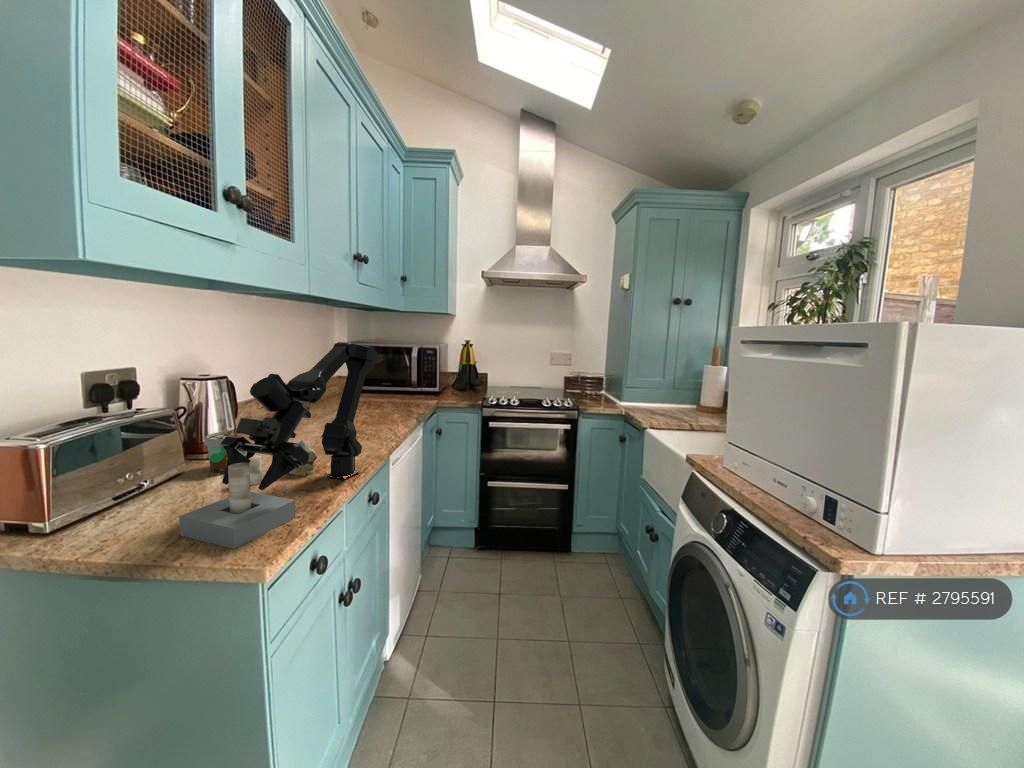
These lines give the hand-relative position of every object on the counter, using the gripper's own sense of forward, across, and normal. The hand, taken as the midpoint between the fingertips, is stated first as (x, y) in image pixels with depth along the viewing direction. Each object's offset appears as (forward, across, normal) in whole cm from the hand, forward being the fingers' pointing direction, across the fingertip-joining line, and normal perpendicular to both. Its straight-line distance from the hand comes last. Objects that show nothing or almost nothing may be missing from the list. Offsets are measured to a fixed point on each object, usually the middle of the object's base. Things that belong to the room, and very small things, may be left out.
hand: (242, 486), depth 81 cm
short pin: (-8, -18, +20) cm, 28 cm away
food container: (-11, -36, +23) cm, 44 cm away
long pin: (+6, 0, +6) cm, 8 cm away
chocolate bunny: (-15, -12, +28) cm, 34 cm away
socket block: (+6, 0, +6) cm, 8 cm away
